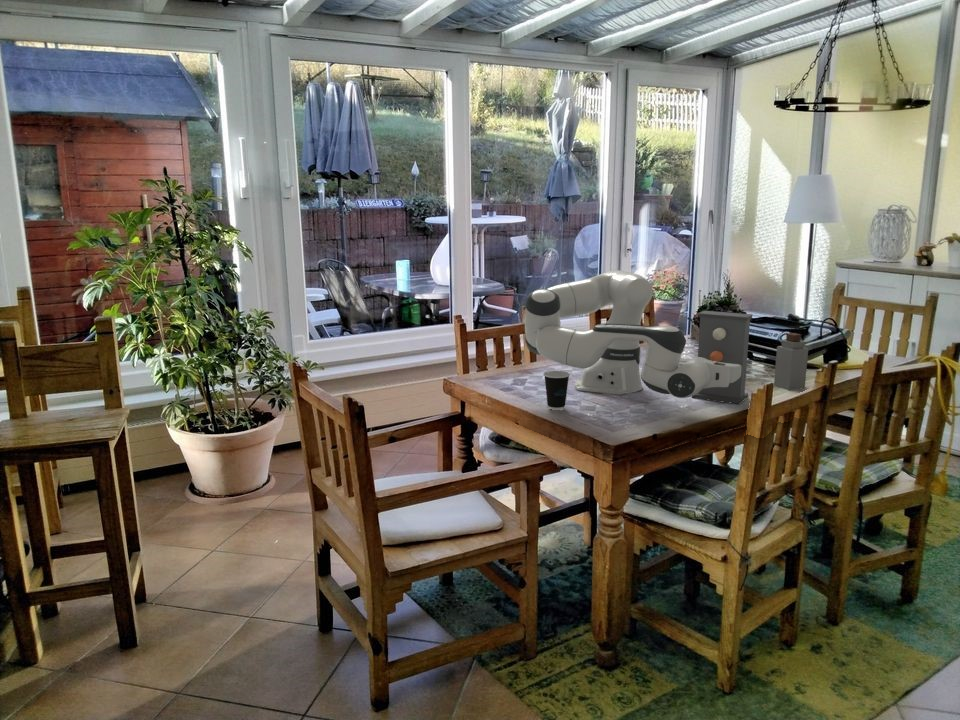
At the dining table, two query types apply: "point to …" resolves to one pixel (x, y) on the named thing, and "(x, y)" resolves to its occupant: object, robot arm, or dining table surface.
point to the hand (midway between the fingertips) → (712, 363)
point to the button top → (719, 333)
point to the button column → (725, 351)
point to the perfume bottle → (791, 363)
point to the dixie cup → (556, 388)
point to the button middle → (716, 356)
